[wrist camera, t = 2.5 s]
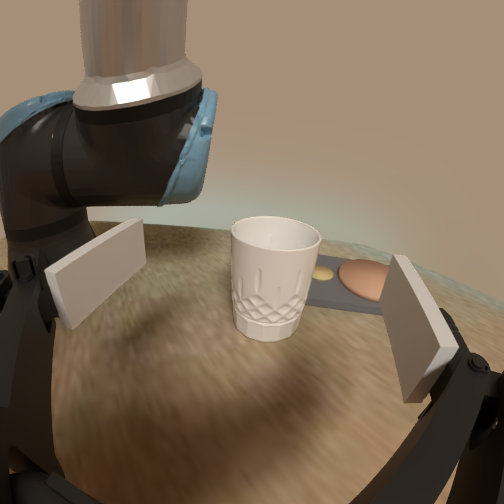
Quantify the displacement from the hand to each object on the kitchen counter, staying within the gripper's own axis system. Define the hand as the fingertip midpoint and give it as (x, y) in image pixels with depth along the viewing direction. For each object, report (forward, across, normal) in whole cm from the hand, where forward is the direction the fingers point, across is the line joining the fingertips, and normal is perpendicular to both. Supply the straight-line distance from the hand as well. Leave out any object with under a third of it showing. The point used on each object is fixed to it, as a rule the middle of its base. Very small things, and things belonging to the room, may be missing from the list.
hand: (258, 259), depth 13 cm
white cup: (+11, 0, -12) cm, 16 cm away
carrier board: (+21, +10, -12) cm, 26 cm away
